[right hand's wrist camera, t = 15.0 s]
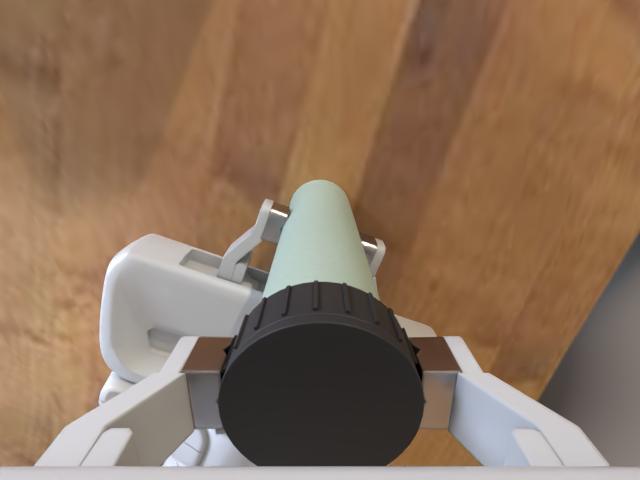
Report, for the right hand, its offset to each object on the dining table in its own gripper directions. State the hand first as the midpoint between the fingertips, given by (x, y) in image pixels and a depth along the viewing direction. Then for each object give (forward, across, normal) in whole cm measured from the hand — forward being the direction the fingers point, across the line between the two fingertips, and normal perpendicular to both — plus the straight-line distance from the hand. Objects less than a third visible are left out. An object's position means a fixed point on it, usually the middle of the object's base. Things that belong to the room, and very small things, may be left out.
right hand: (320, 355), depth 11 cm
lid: (-2, 0, 0) cm, 2 cm away
